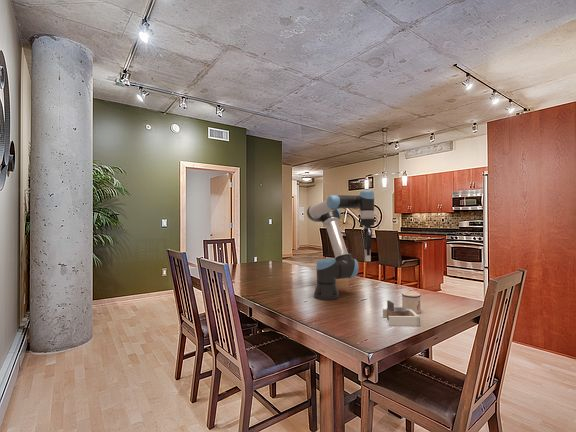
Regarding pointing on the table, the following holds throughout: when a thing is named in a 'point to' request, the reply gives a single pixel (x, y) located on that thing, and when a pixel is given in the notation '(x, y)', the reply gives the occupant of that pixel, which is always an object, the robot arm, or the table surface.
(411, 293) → the teacup with lid
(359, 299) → the table surface
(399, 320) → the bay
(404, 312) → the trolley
